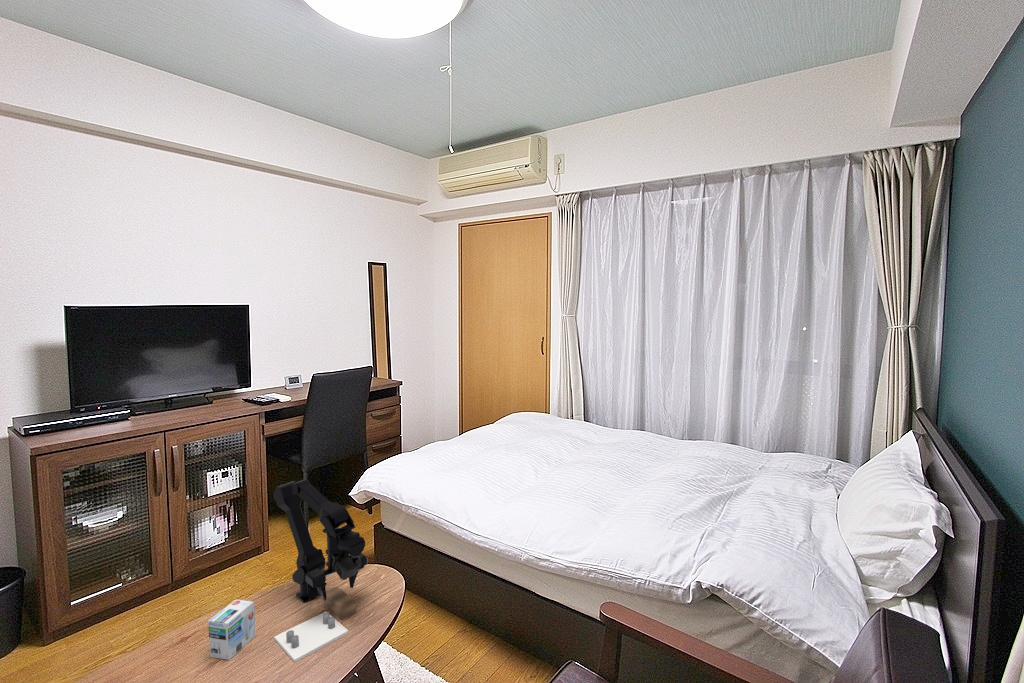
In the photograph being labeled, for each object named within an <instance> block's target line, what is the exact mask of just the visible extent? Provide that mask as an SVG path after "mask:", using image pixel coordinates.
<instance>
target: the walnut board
mask: <svg viewBox="0 0 1024 683" xmlns="http://www.w3.org/2000/svg"><path fill="white" fill-rule="evenodd" d="M322 605H323V607H324V608H326V609H327V610H328V611H329V613H332V614H333V615H334V616H335V617H336V618H338V619H339V620H340V621H344V620H346V619H348V618H350V617H352V616H354V615H355V614H357V600H356V599H355V598H354V597H352V596H351V595H349V594H348V593H346V592H345V591H344V590H343V589H341V588H340V587H338V586H333V587H332V588H330V589H328V590H326V601H324V600H323V599H322Z"/></svg>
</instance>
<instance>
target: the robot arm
mask: <svg viewBox="0 0 1024 683" xmlns="http://www.w3.org/2000/svg"><path fill="white" fill-rule="evenodd" d="M272 497H273V499H274V501H275V503H276V506H277V507H278V508H279V509H281V510H282V511H284V513H285V515H286V519H287V522H288V525H289V528H290V531H291V534H292V538H293V540H294V543H295V546H296V549H297V553H298V554H297V558H296V562H295V563H296V568H297V569H296V570H295V571H294V572H293V574H292V575H291V577H292V581H293V583H296V584H298V585H299V592H296V594H295V596H296V597H297V598H299V600H301V601H302V602H303V603H306V602H309V601H311V600H313V599H315V598H318V597H319V596H321V597H322V601H323V600H324V601H326V591H327V590H326V586H327V584H328V583H327V582H326V581H327V577H328V576H332V575H333V574H335V573H336V574H337V575H338V577H339V579H340V580H342V581H345V580H347V579H348V580H349V581H348V582H349V587H350V588H351V589H353V588H354V586H355V583H356V579H357V576H358V573H359V572H360V571H361V570H363V569H364V568H365V566H367V565H368V561H369V560H368V556H366V554H364V553H363V552H364V550H365V548H366V541H365V538H364V537H363V536H360V535H361V533H360V532H357V531H353V530H354V529H356V525H355V522H354V521H355V520H353V518H352V517H351V515H350V513H349V511H348V509H347V508H346V507H345V506H344V505H342V504H340V503H338V502H332V501H331V500H329V499H328V498H326V496H324V495H323V494H322V493H321V492H320V491H319V490H317V489H316V488H315V487H314V486H313V485H312V484H311V481H310V480H309V479H302V480H298V481H295V480H292V481H290V482H287V483H283V484H281V485H278V486H276V487H275V489H274V491H273V494H272ZM302 501H304V503H306V504H307V506H309V508H311V509H312V511H314V512H315V513H316V514H317V515H318V517H319V522H320V523H321V524H320V525H322V526H323V527H324V529H322V533H324V534H326V548H327V549H325V554H326V555H327V561H326V558H325V556H324V552H323V550H322V549H321V548H319V549H318V548H317V547H316V546H314V543H313V540H312V537H311V534H310V531H309V529H308V525H307V522H306V521H307V520H306V519H305V516H304V512H303V510H302V507H301V504H302ZM345 524H346V525H345ZM343 525H344V526H343ZM325 567H327V568H326V569H325Z"/></svg>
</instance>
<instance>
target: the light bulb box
mask: <svg viewBox="0 0 1024 683" xmlns="http://www.w3.org/2000/svg"><path fill="white" fill-rule="evenodd" d="M255 610H256V609H255V602H254V601H249V600H243V599H237V598H236V599H234V600H233V601H231V602H230V603H229V604H228V605H226V606H225V607H224V608H223V609H222V610H220V611H219V612H218V613H216V614H215V615H214V616H212V617H211V618H210V619H208V621H207V624H208V641H209V642H208V643H209V655H210V658H214V659H215V658H216V659H222V660H228V661H230V660H231V659H232V658H233V657H235V655H237V654H238V652H239V653H240V651H241V650H242V649H243V648H244V647H246V646H247V645H248V644H249V643H250V642H251V641H252V640H253V639H254V638H255V637H256V632H257V631H256V615H255V614H256V613H255V612H256V611H255Z"/></svg>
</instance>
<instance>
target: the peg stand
mask: <svg viewBox="0 0 1024 683" xmlns="http://www.w3.org/2000/svg"><path fill="white" fill-rule="evenodd" d="M347 634H349V630H348V629H347V628H346V627H344V625H342V624H341V623H340V622H339V621H338V620H336V618H335V617H334V616H332V615H331V612H328V611H323V612H322V613H320V614H317V615H316V616H314V617H312V618H309V619H308V620H305V621H303V622H301V623H299V624H297V625H296V626H293V627H291V628H289V629H287V630H284V631H283V632H281V633H279V634H277V635H275V636H274V637H273V640H274V641H275V642H276V643H277V644H278V645H279V647H280V648H281V649H282V650H283V651H284V652H285V653H286V654H287V655H288V657H289V658H290V659H291V660H292V661H293V663H296V662H298V661H300V660H302V659H303V658H306V657H307V656H309V655H311V654H313V653H314V652H316V651H318V650H320V649H322V648H324V647H326V646H327V645H329V644H332V643H333V642H335V641H336V640H339V639H340V638H342V637H344V636H346V635H347Z"/></svg>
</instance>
